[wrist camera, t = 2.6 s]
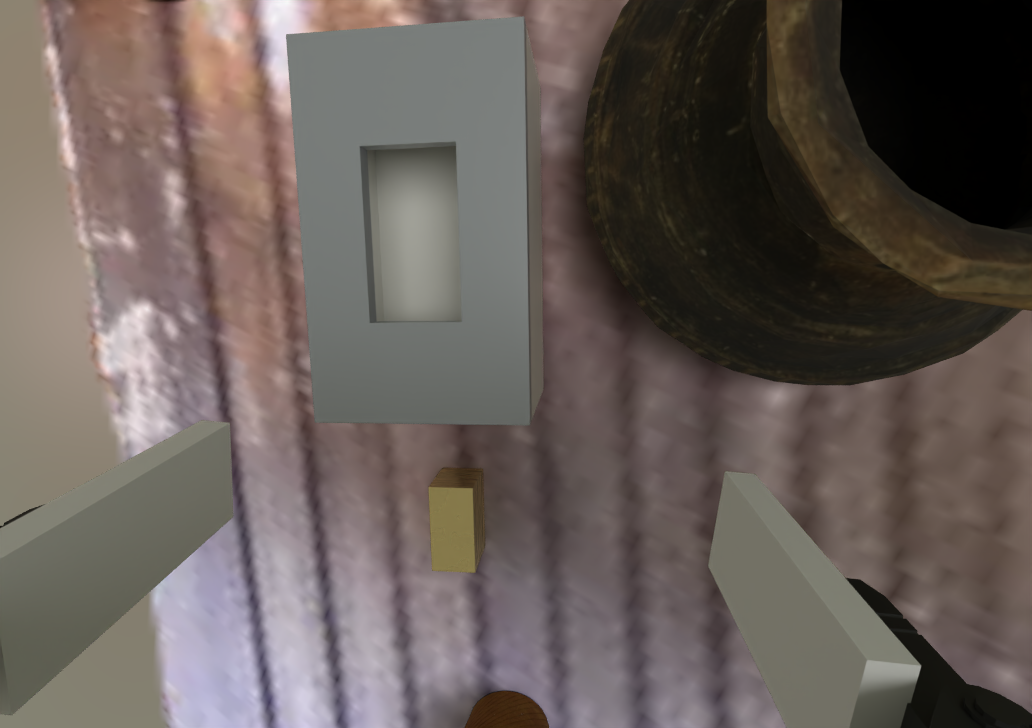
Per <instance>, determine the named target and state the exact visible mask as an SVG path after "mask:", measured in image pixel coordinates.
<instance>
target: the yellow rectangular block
mask: <svg viewBox="0 0 1032 728" xmlns="http://www.w3.org/2000/svg"><path fill="white" fill-rule="evenodd" d="M429 510H430V533H431V556H432V571H448V572H470V573H475V572H476V569H477V567H478V564H479V561H480V559H481V556H482V553H483V550H484V548H485V520H484V484H483V469H475V468H442V470H441V471H440V472H439V474H438V475H437V476H436V478H435V479H434V480H433V482H432V483H431V484H430V486H429Z"/></svg>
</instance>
